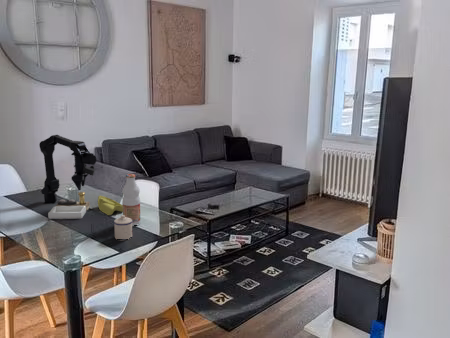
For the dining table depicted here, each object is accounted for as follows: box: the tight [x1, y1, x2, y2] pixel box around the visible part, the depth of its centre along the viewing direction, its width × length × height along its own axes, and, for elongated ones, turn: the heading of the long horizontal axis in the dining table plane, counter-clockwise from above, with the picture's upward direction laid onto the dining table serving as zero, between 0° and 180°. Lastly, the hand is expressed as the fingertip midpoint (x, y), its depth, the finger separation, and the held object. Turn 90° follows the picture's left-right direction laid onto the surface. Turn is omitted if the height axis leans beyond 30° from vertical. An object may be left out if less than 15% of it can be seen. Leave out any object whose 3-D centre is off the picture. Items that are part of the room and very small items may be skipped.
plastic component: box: [97, 195, 123, 216], centre depth 246 cm, size 20×7×10 cm
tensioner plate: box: [55, 198, 91, 212], centre depth 246 cm, size 18×8×5 cm, turn 97°
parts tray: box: [47, 205, 87, 220], centre depth 235 cm, size 18×12×4 cm, turn 97°
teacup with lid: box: [113, 214, 133, 240], centre depth 206 cm, size 12×9×12 cm
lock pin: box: [77, 191, 86, 205], centre depth 246 cm, size 4×4×10 cm
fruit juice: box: [121, 173, 141, 227], centre depth 222 cm, size 9×9×28 cm
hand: (81, 188), depth 244 cm, fingers open, 9 cm apart
